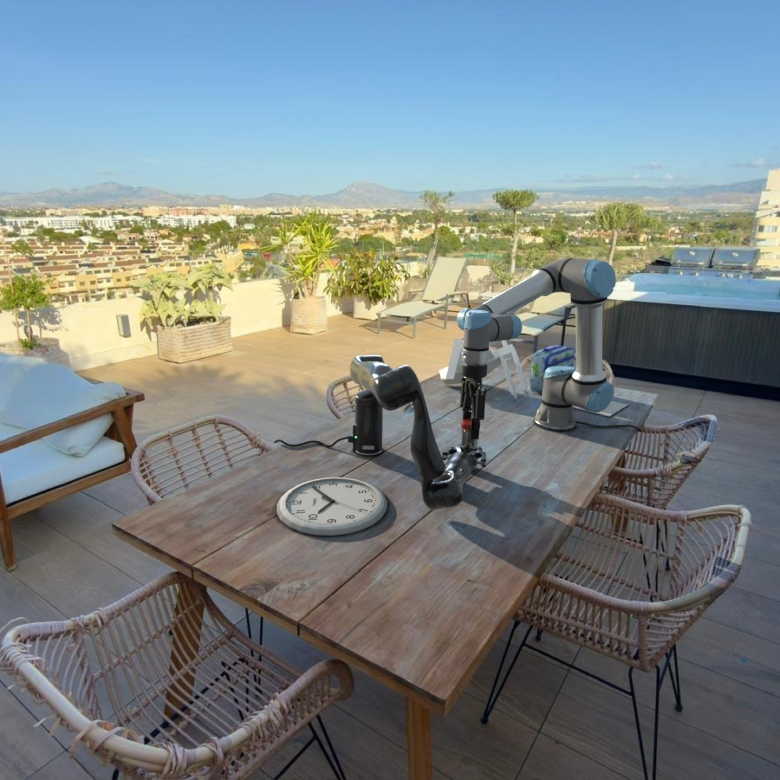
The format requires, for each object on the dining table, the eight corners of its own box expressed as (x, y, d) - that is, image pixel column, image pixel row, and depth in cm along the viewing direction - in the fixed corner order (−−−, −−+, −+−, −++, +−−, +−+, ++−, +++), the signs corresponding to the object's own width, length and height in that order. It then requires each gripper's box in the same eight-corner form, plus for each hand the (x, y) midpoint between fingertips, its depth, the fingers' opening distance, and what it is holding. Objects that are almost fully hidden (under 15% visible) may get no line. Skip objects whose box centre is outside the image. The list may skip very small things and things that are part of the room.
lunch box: (546, 398, 236) (551, 353, 229) (525, 393, 243) (529, 349, 237) (573, 387, 253) (579, 344, 247) (553, 382, 260) (558, 341, 254)
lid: (474, 423, 166) (474, 417, 165) (483, 429, 160) (483, 423, 160) (458, 425, 164) (458, 419, 163) (467, 432, 158) (467, 426, 158)
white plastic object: (461, 429, 252) (437, 405, 227) (444, 352, 274) (420, 323, 250) (535, 404, 240) (518, 377, 215) (510, 326, 262) (492, 293, 237)
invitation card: (608, 416, 214) (573, 407, 224) (608, 416, 214) (573, 408, 224) (628, 404, 229) (594, 396, 238) (628, 405, 229) (594, 397, 238)
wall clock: (392, 527, 129) (268, 531, 127) (391, 533, 130) (269, 537, 127) (383, 473, 158) (282, 475, 155) (383, 478, 158) (282, 480, 156)
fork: (400, 411, 216) (400, 406, 215) (412, 399, 230) (412, 395, 230) (406, 412, 215) (406, 407, 215) (418, 400, 230) (418, 396, 229)
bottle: (456, 468, 166) (459, 424, 162) (466, 463, 170) (469, 420, 165) (469, 473, 163) (472, 428, 158) (478, 468, 166) (482, 424, 162)
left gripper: (483, 461, 148) (494, 439, 163) (434, 453, 153) (449, 433, 168) (481, 485, 150) (492, 461, 165) (433, 476, 155) (448, 454, 170)
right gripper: (451, 356, 163) (448, 425, 170) (476, 371, 146) (470, 447, 153) (473, 355, 165) (469, 423, 172) (500, 370, 148) (494, 445, 155)
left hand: (470, 447), depth 167 cm, fingers closed on bottle, 5 cm apart
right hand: (470, 434), depth 163 cm, fingers closed on lid, 6 cm apart
